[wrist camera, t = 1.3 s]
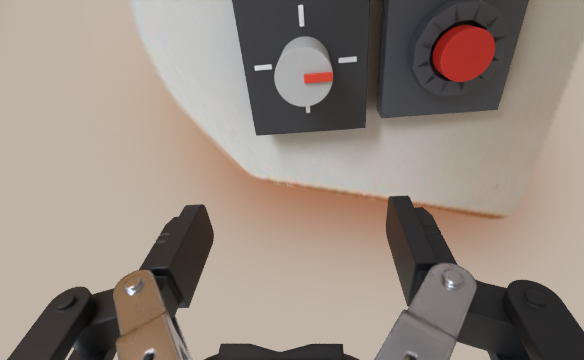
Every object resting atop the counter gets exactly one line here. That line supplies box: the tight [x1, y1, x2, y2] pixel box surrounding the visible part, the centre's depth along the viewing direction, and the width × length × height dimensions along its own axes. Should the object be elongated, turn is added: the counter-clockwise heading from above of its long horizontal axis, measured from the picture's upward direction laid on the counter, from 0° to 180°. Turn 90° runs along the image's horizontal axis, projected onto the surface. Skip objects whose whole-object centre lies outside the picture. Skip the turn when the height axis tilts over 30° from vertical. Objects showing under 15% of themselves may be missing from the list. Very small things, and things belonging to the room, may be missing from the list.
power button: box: [433, 25, 495, 82], centre depth 22 cm, size 4×4×2 cm
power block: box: [377, 0, 529, 118], centre depth 24 cm, size 11×10×4 cm
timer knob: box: [274, 36, 333, 107], centre depth 22 cm, size 4×4×5 cm
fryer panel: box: [232, 0, 370, 135], centre depth 25 cm, size 12×10×3 cm
